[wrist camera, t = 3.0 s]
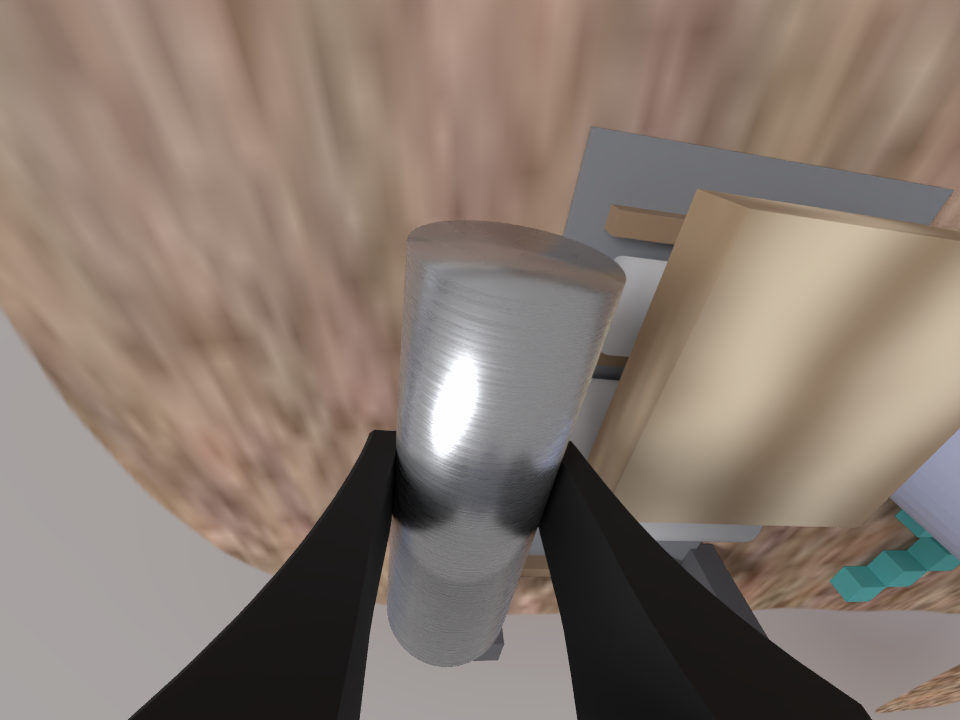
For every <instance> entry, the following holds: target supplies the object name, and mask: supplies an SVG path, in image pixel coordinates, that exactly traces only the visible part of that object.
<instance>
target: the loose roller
mask: <svg viewBox="0 0 960 720" xmlns="http://www.w3.org/2000/svg"><path fill="white" fill-rule="evenodd" d="M625 283H626V275H625V272H624V271H623V269H622V268H621V267H620V266H619V265H618V264H617V263H616V262H615V261H614V260H612V259H611V258H610V257H608V256H607V255H605V254H603V253H601V252H600V251H598V250H596V249H594V248H592V247H589V246H587V245H585V244H582V243H580V242H578V241H575V240H572V239H569V238H566V237H563V236H560V235H557V234H553V233H550V232H546V231H542V230H538V229H534V228H529V227H524V226H518V225H513V224H506V223H498V222H489V221H471V220H456V221H443V222H436V223H431V224H427V225H424V226H421V227H419V228H416V229H415V230H414V231H412V232H411V233H410V234H409V236H408V239H407V252H406V270H405V288H404V305H403V323H402V341H401V358H400V376H399V394H398V411H397V429H396V458H395V475H394V492H393V510H392V521H391V535H390V553H389V571H388V588H387V614H388V619H389V623H390V626H391V629H392V631H393V633H394V635H395V637H396V638H397V640H398V642H399V643H400V644H401V645H402V646H403V648H404V649H405V650H406V651H408V652H409V653H410V654H411V655H412V656H414V657H415V658H417V659H419V660H421V661H423V662H425V663H428V664H431V665H435V666H441V667H453V666H459V665H463V664H466V663H469V662H470V661H473V660H475V659H477V658H478V657H479V656H481V655H482V654H484V653H485V652H486V651H487V650H488V649H489V648H490V647H491V645H492V644H493V643H494V642H495V640H496V638H497V637H498V635H499V633H500V631H501V628H502V625H503V623H504V620H505V617H506V615H507V612H508V609H509V606H510V604H511V601H512V598H513V595H514V592H515V590H516V587H517V584H518V581H519V578H520V576H521V573H522V570H523V567H524V565H525V562H526V559H527V556H528V553H529V551H530V548H531V545H532V542H533V539H534V537H535V534H536V531H537V528H538V526H539V523H540V520H541V517H542V514H543V512H544V509H545V506H546V503H547V501H548V498H549V495H550V492H551V489H552V487H553V484H554V481H555V478H556V475H557V473H558V470H559V467H560V464H561V462H562V459H563V456H564V453H565V450H566V448H567V445H568V442H569V439H570V436H571V434H572V431H573V428H574V425H575V423H576V420H577V417H578V414H579V411H580V409H581V406H582V403H583V400H584V397H585V395H586V392H587V389H588V386H589V384H590V381H591V378H592V375H593V372H594V370H595V367H596V364H597V361H598V358H599V356H600V353H601V350H602V347H603V345H604V342H605V339H606V336H607V333H608V331H609V328H610V325H611V322H612V319H613V317H614V314H615V311H616V308H617V306H618V303H619V300H620V297H621V294H622V292H623V289H624V286H625Z"/></svg>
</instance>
